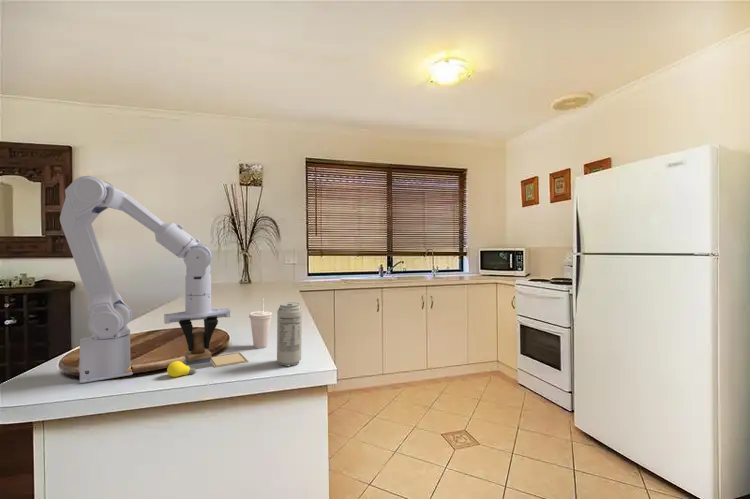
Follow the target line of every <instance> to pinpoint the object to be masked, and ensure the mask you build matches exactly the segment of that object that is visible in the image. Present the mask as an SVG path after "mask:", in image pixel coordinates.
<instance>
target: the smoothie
mask: <svg viewBox="0 0 750 499" xmlns="http://www.w3.org/2000/svg"><path fill="white" fill-rule="evenodd" d="M264 301H265V298H264V297H262V298H261V310H259V311H252V312H250V313H249V314H248V318H249V319H250V327H251V335H252V344H253V348H254V349H265V348H267V347H268V342H269V335H270V326H271V320H272V319H271V318H272V317H273V312H271V311H268V310H264V309H265V303H264Z"/></svg>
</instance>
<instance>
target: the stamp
mask: <svg viewBox="0 0 750 499" xmlns="http://www.w3.org/2000/svg"><path fill="white" fill-rule="evenodd" d="M192 345H193V351H189V350H184V358H185V359H186V360H187V361H188V363H195V362H201V361H206V360H211V357H212V352H211V351H210V350H209V349H205V331H192Z"/></svg>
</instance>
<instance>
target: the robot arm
mask: <svg viewBox="0 0 750 499" xmlns="http://www.w3.org/2000/svg"><path fill="white" fill-rule="evenodd" d="M64 194H65V199H64V202H63V205H62V209H61V212H60V216H59V222H60V225H61V228H62V230H63V233H64V236H65V238H66V242H67V244H68V247H69V250H70V252H71V255H72V258H73V260H74V263H75V265H76V268H77V271H78V273H79V277H80V279H81V282H82V286H83V287H84V289H85V293H86V295H87V297H88V298H87V299H88V300H87V307H86V310H87V313H88V320H87V328H88V330H89V332H90V333H91V335H90V336H89V337H82V338H80V341H79V353H78V354H79V363H78V368H77V369H78V373H79V384H84V383H89V382H97V381H102V380H109V379H114V378H120V377H126V376H127V377H128V376H132V375H133V374H134V371H133V372H125V371H126V370H127V369H128V368H129V367H130V363H131V329H130V328H128V324H129V323H130V321H131V320H132V318H133V314H132V313H133V312H132V309H131V308H130V306H128V305H127V304H126V303H125V302H124V301H123V297H122V295H121V294H120V293H119V292H118V291H117V290H116V288H115V286H114V281H113V280H112V276H111V274H110V272H109V269H108V266H107V263H106V260H105V257H104V255H103V252H102V249H101V246H100V244H99V241H98V238H97V236H96V233H95V229H94V227H93V223H94V222H95V220H96V219H97V218H98V217H99V215H100V214H101V213H103V212H104V211H105V210H107V209H113V210H118V211H122V212H123V213H125V214H127V215H128V216H129V217H131V218H132V219H134V220H135V221H137V222H138V223H139V224H141V225H143V227H146V228H147V229H148V230H150V231H151V232H153V233H154V236H155V242H157V243H158V244H159V245H161V246H162V247H164V249H166V250H167V251H169V252H170V253H171V254H173V255H174V256H176V257H177V258H180V259H181V258H182V259H183V261H184V264H185V266H186V271H185V272H186V273H185V274H186V275H185V281H184V282H185V285H184V286H185V287H184V288H185V294H184V295H185V296H184V297H185V298H184V299H185V300H184V302H185V303H184V305H185V310H184V311H178V312H173V313H172V312H171V313H165V314H164V315H163V318H164V319H163V322H164V324H166V325H167V324H170V323H171V324H172V323H178V325H179V326H180V328H181V330H182V331H183V332H182V333H183V334H184V336H185V340H186V343H187V351H193V345H192V333H193V327H194V326H193V323H192V321H201V320H203V327H204V332H205V349H208V350H209V348H210V343H211V339H212V336H213V333H214V331H215V329H216V327H217V326H218V324H219V320H218V319H219V318H221V319H222V318H231V309H230V308H212V274H211V272H212V267H211V265H210V264H211V262H212V256H213V255H212V252H211V250H210V249H209V247H207V245H205V244H202V243H201V240H200V239H199V238H194V237H193V236H192V235H191V234H190V233H188V232H187V231H185V230H184V228H185V227H184V226H183V225H182V224H181V223H180V224H176V223H175V222H164V221H162V219H160V218H159V217H157V216H156V215H155V214H154V213H152V212H151V211H150V210H149V209H148V208H146V207H145V206H144V205H143V204H141V203H140V202H139V201H137V199H136V198H134V197H133V196H131V195H130V194H128V193H126V192H124V191H123V190H121V189H119V188H117V187H115V186H114V185H113V184H111V183H110V182H108V181H106V180H101V179H100V178H97V177H96V176H92V175H82V176H79V177H77V178H76V179H74V180H73V181H72V182H71V183H70V184H69V185H68V186H67V187H66V188H65V189H64ZM85 371H89V373H85ZM124 372H125V373H124Z"/></svg>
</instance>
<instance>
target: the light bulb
mask: <svg viewBox="0 0 750 499" xmlns="http://www.w3.org/2000/svg"><path fill="white" fill-rule="evenodd" d="M166 373H167V374H168V376H169V377H170V378H171V377H172V378H179V377H182V376H187V375H195V373H197V369H195V368H190V367H189V366H186V365H185V364H184V362H182V361H180V360H175V361H171V363H169V364H168V367H167V369H166Z"/></svg>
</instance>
